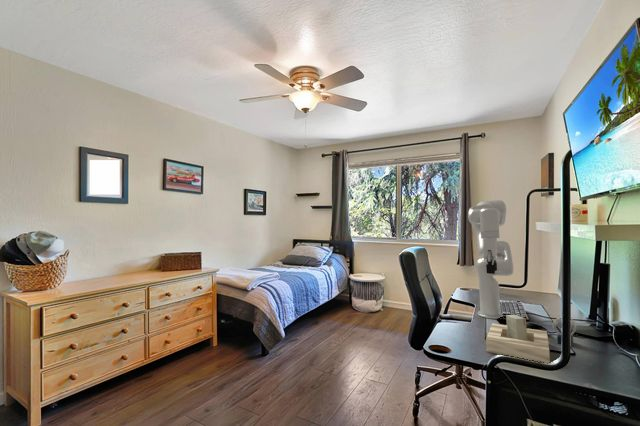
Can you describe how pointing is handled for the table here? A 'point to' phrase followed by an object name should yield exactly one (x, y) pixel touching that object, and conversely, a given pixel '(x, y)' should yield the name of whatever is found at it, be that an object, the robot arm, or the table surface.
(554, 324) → the watch
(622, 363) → the table surface
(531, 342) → the organizer
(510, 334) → the skincare box
